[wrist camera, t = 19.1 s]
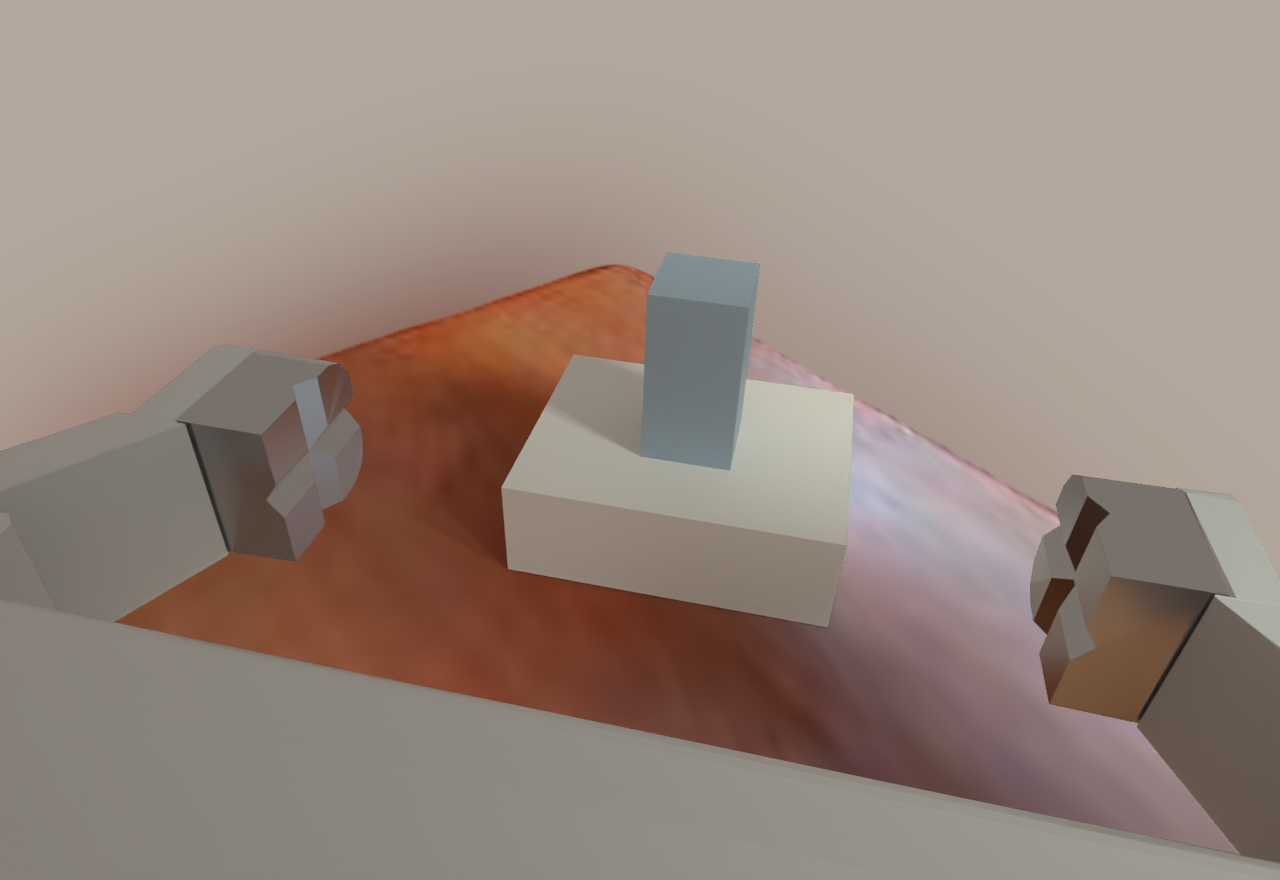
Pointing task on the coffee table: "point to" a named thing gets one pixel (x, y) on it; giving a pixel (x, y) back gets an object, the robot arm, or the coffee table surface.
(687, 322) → the slate block
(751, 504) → the base
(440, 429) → the coffee table surface
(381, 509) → the coffee table surface
